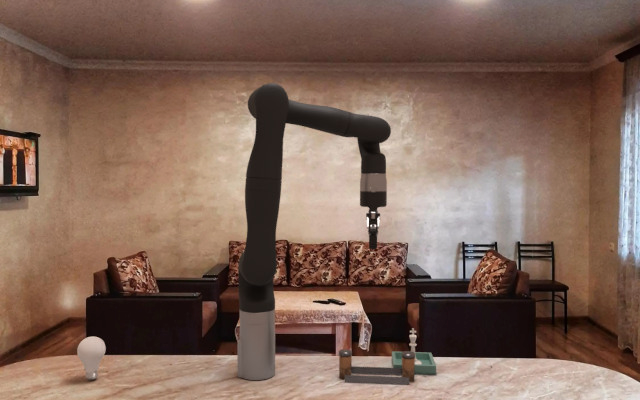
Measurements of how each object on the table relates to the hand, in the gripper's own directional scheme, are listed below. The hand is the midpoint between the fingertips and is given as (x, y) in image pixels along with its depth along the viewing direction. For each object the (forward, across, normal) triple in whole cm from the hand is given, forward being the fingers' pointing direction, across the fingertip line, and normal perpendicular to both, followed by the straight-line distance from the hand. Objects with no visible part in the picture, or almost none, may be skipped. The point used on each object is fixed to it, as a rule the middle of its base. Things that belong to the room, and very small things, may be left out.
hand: (372, 247), depth 147 cm
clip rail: (+32, +15, +1) cm, 35 cm away
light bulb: (+32, +23, -71) cm, 81 cm away
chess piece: (+32, +6, +11) cm, 34 cm away
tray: (+32, +5, +11) cm, 34 cm away
